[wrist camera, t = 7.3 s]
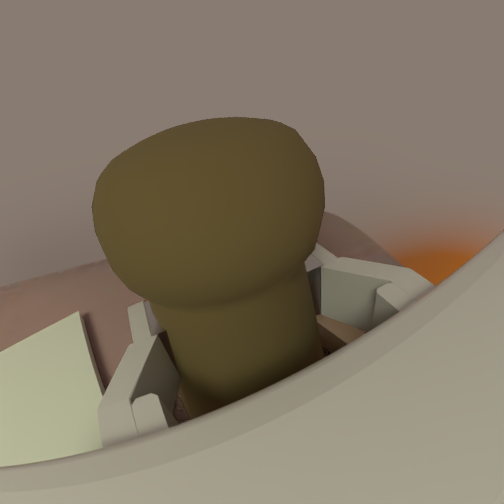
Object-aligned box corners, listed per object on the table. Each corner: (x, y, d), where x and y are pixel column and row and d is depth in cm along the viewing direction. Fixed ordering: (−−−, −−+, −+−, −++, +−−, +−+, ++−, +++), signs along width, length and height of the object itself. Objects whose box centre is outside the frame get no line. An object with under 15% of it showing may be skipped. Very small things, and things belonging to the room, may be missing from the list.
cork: (174, 386, 13) (68, 154, 7) (285, 334, 15) (252, 100, 9) (226, 495, 9) (19, 231, 3) (361, 420, 10) (407, 115, 5)
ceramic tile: (-27, 525, 4) (-37, 520, 4) (-33, 380, 13) (-40, 373, 13) (141, 474, 9) (132, 468, 9) (83, 319, 18) (78, 311, 18)
